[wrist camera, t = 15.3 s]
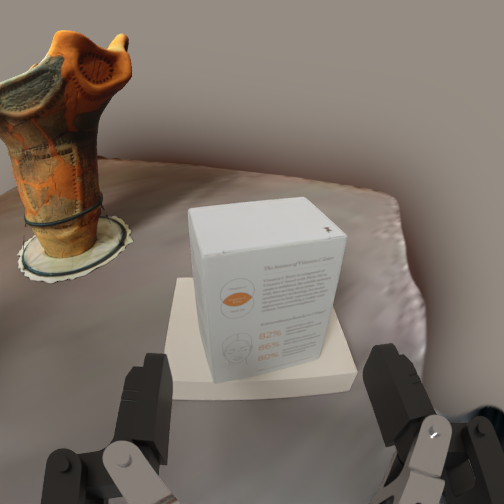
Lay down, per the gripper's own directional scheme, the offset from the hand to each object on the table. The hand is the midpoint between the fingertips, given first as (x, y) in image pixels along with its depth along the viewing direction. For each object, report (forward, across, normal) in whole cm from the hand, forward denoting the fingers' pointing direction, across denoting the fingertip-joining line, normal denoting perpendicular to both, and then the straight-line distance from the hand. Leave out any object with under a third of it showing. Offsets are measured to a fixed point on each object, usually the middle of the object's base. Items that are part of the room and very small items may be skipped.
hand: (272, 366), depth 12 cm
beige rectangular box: (+11, -1, +11) cm, 16 cm away
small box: (+8, 0, +9) cm, 12 cm away
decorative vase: (+28, +23, +12) cm, 38 cm away
